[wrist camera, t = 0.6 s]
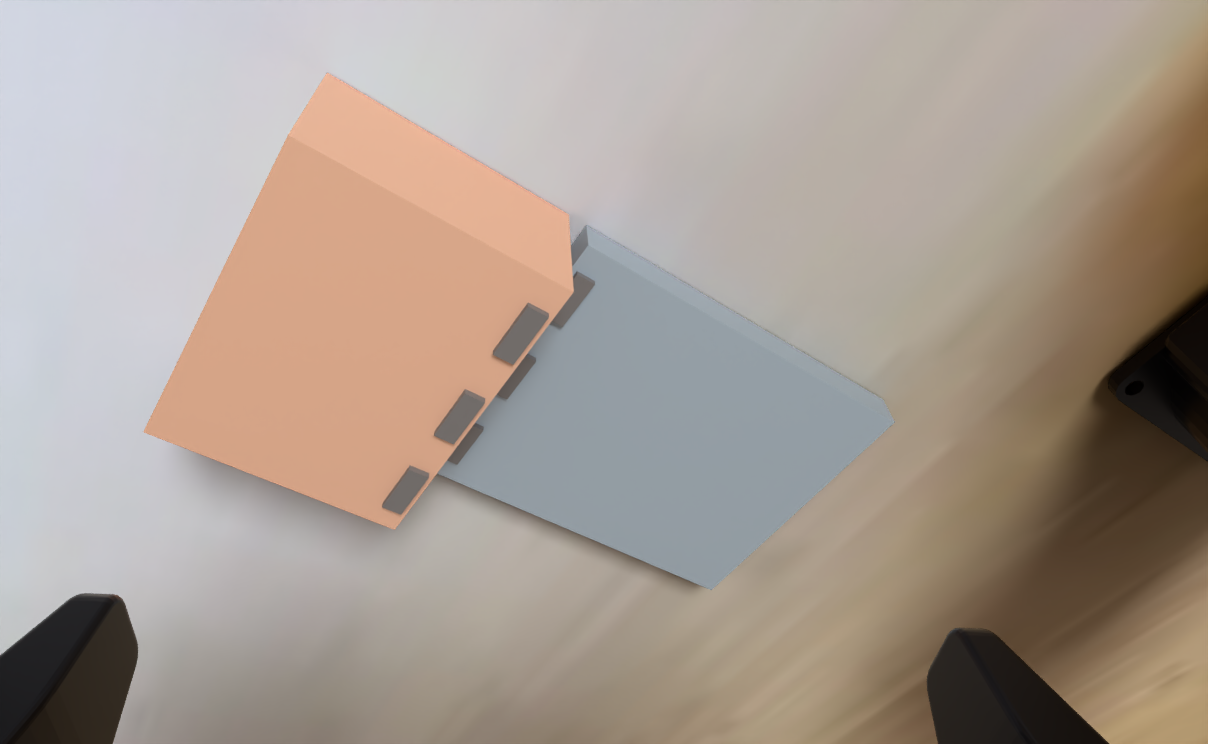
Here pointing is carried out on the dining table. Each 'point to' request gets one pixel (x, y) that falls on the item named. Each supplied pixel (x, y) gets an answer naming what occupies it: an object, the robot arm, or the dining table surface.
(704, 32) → the dining table surface
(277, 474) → the stub
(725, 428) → the blue-grey flat panel
